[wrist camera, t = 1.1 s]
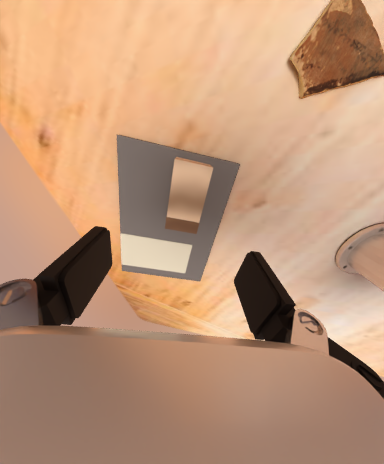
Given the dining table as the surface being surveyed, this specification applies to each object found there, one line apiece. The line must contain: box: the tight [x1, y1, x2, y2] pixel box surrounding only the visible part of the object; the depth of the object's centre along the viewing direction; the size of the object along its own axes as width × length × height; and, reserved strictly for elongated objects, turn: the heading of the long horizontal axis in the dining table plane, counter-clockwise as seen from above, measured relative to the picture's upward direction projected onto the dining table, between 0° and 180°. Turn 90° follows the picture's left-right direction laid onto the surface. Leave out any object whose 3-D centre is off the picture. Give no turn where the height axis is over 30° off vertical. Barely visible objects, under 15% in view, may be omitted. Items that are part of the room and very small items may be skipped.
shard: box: [290, 0, 384, 99], centre depth 17 cm, size 11×8×2 cm
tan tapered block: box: [165, 157, 213, 234], centre depth 22 cm, size 10×5×4 cm, turn 168°
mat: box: [117, 135, 240, 281], centre depth 28 cm, size 18×26×1 cm
